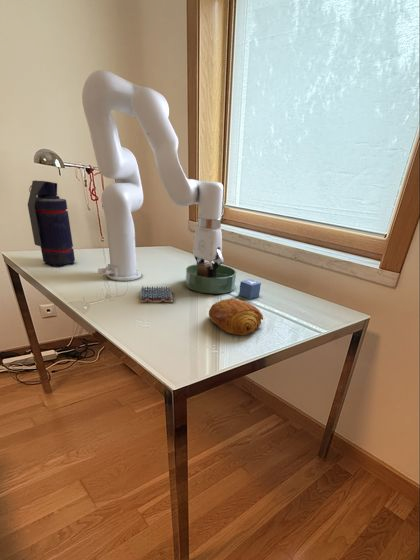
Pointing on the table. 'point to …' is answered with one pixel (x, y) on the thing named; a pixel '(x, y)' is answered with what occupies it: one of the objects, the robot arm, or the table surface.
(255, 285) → the periwinkle blue block
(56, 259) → the grenade
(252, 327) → the croissant
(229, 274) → the faceted green bowl
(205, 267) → the walnut block
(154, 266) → the table surface
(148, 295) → the spiked square pad
